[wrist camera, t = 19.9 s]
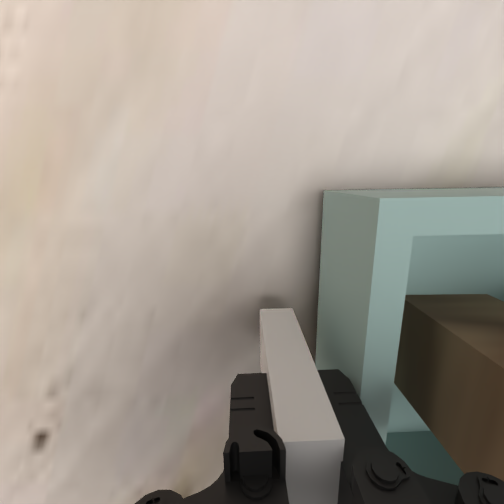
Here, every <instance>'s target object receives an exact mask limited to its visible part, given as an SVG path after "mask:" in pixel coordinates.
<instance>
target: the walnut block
mask: <svg viewBox="0 0 504 504" xmlns="http://www.w3.org/2000/svg"><path fill="white" fill-rule="evenodd" d="M394 384H395V385H396V386H397V388H398V389H399V390H400V391H401V393H402V394H403V395H404V397H405V398H406V399H407V401H408V402H409V403H410V404H411V406H412V407H413V408H414V410H415V411H416V412H417V414H418V415H419V416H420V417H421V419H422V420H423V421H424V423H425V424H426V425H427V426H428V428H429V429H430V430H431V432H432V433H433V434H434V436H435V437H436V438H437V439H438V441H439V442H440V443H441V445H442V446H443V447H444V449H445V450H446V451H447V452H448V454H449V455H450V456H451V458H452V459H453V460H454V462H455V463H456V464H457V465H458V467H459V468H460V469H461V471H462V472H463V473H464V474H465V473H467V472H477V471H478V472H482V473H486V474H490V475H493V476H495V477H497V478H499V479H501V480H503V481H504V301H501V300H499V299H497V298H495V297H492V296H490V295H488V294H434V295H405V303H404V310H403V318H402V325H401V333H400V340H399V348H398V355H397V362H396V370H395V377H394Z"/></svg>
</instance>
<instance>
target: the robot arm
mask: <svg viewBox="0 0 504 504" xmlns="http://www.w3.org/2000/svg"><path fill="white" fill-rule="evenodd" d="M260 365H261V373H253V374H238V375H237V376H236V378H235V380H234V381H233V383H232V385H231V402H230V424H229V439H228V440H227V442H226V445H225V449H224V452H223V456H224V471H223V473H222V474H221V475H220V477H219V478H218V480H216V481H215V482H214V483H213V484H212V485H211V486H209V487H208V488H206V489H204V490H202V491H200V492H198V493H196V494H193V495H191V496H189V497H186V498H184V499H183V498H182V496H181V495H180V494H178V493H176V492H174V491H172V490H157V491H154V492H152V493H149V494H147V495H145V496H144V497H143V498H141V499H140V500H139V501H138V502H136V503H135V504H504V481H503V480H501V479H499V478H497V477H495V476H493V475H490V474H486V473H482V472H478V471H477V472H467V473H465V474H464V475H463V476H462V477H461V478H460V480H459V484H458V486H457V485H454V484H450V483H446V482H442V481H439V480H435V479H431V478H428V477H425V476H422V475H419V474H417V473H415V472H413V471H412V470H411V469H410V468H409V466H408V465H407V464H406V463H405V461H403V460H402V459H401V458H400V457H398V456H397V455H396V454H394V453H393V452H390V451H389V450H388V448H387V447H386V445H385V443H384V442H383V440H382V438H381V436H380V434H379V432H378V431H377V429H376V427H375V425H374V423H373V421H372V419H371V418H370V416H369V414H368V412H367V410H366V408H365V407H364V405H362V401H361V399H360V397H359V395H358V394H357V393H356V390H355V388H354V386H353V384H352V383H351V381H350V379H349V378H348V377H347V376H346V375H344V374H343V373H342V372H341V371H340V370H339V369H328V370H317V368H316V366H315V363H314V361H313V358H312V356H311V353H310V351H309V348H308V346H307V343H306V341H305V338H304V336H303V333H302V331H301V328H300V326H299V323H298V321H297V318H296V316H295V313H294V311H293V308H274V309H260Z"/></svg>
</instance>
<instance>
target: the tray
mask: <svg viewBox="0 0 504 504" xmlns="http://www.w3.org/2000/svg"><path fill="white" fill-rule="evenodd" d="M434 294H488V295H490V296H492V297H495V298H497V299H499V300H501V301H504V187H487V188H428V189H370V190H324V197H323V217H322V238H321V258H320V278H319V299H318V319H317V340H316V360H315V366H316V368H317V370H328V369H339V370H340V371H341V372H342V373H343V374H344V375H346V376H347V377H348V378H349V379H350V381H351V383H352V384H353V386H354V388H355V390H356V393H357V394H358V395H359V397H360V399H361V401H362V405H364V407H365V408H366V410H367V412H368V414H369V416H370V418H371V419H372V421H373V423H374V425H375V427H376V429H377V431H378V432H379V434H380V436H381V438H382V440H383V442H384V443H385V445H386V447H387V448H388V450H389V451H390V452H393V453H394V454H396V455H397V456H398V457H400V458H401V459H402V460H403V461H405V463H406V464H407V465H408V466H409V468H410V469H411V470H412V471H413V472H415V473H417V474H419V475H422V476H425V477H428V478H431V479H435V480H439V481H442V482H446V483H450V484H454V485H457V486H458V484H459V480H460V478H461V477H462V476H463V475H464V473H463V472H462V471H461V469H460V468H459V467H458V465H457V464H456V463H455V462H454V460H453V459H452V458H451V456H450V455H449V454H448V452H447V451H446V450H445V449H444V447H443V446H442V445H441V443H440V442H439V441H438V439H437V438H436V437H435V436H434V434H433V433H432V432H431V430H430V429H429V428H428V426H427V425H426V424H425V423H424V421H423V420H422V419H421V417H420V416H419V415H418V414H417V412H416V411H415V410H414V408H413V407H412V406H411V404H410V403H409V402H408V401H407V399H406V398H405V397H404V395H403V394H402V393H401V391H400V390H399V389H398V388H397V386H396V385H395V384H394V377H395V370H396V362H397V355H398V348H399V340H400V333H401V325H402V318H403V310H404V303H405V295H434Z"/></svg>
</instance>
